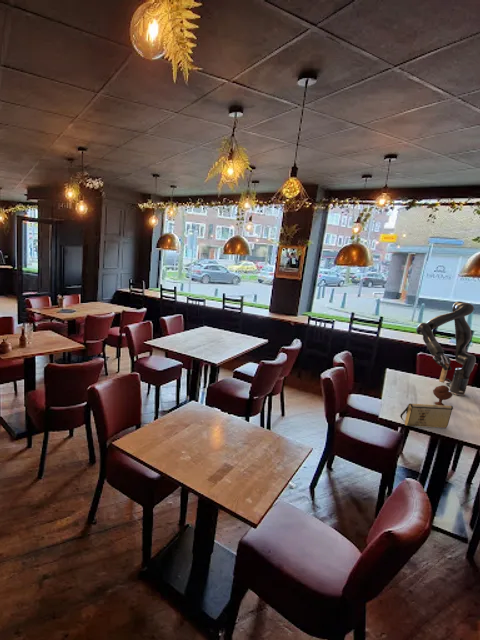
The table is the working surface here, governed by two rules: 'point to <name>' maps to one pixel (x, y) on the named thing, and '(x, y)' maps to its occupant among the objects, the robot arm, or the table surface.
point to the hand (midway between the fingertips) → (448, 369)
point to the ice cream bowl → (442, 394)
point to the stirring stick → (443, 373)
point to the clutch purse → (427, 415)
